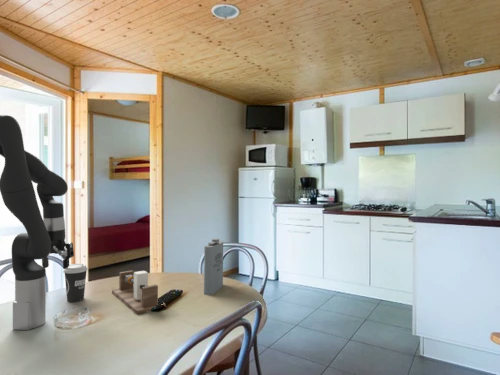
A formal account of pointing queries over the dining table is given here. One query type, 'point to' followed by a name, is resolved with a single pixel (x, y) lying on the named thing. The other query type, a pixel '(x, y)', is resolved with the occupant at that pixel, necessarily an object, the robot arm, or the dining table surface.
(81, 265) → the coffee cup
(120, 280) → the cord stand
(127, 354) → the dining table surface
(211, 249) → the flask
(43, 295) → the robot arm
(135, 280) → the white slider block
